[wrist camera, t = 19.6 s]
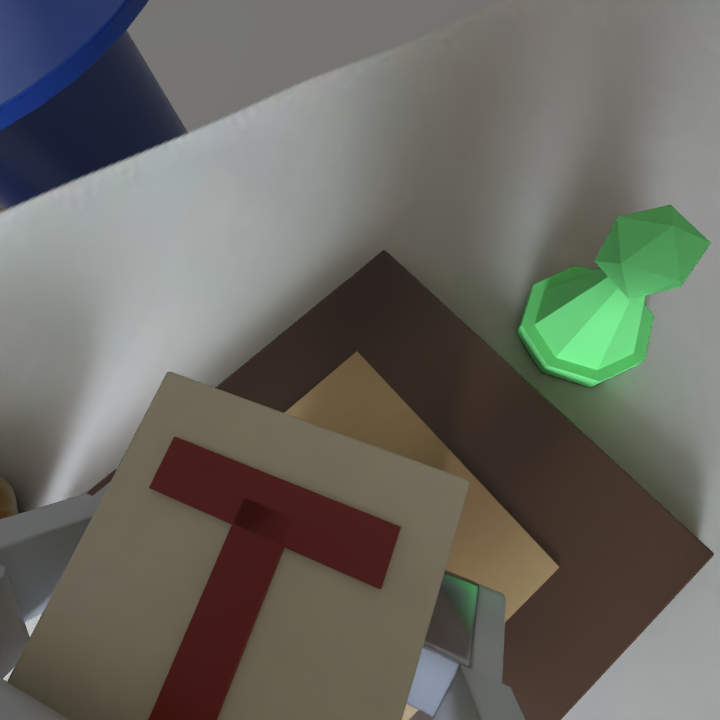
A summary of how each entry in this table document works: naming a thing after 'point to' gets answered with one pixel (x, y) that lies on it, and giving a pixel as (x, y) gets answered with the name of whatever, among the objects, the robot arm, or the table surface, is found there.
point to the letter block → (246, 573)
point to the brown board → (487, 476)
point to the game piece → (609, 298)
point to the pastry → (7, 499)
